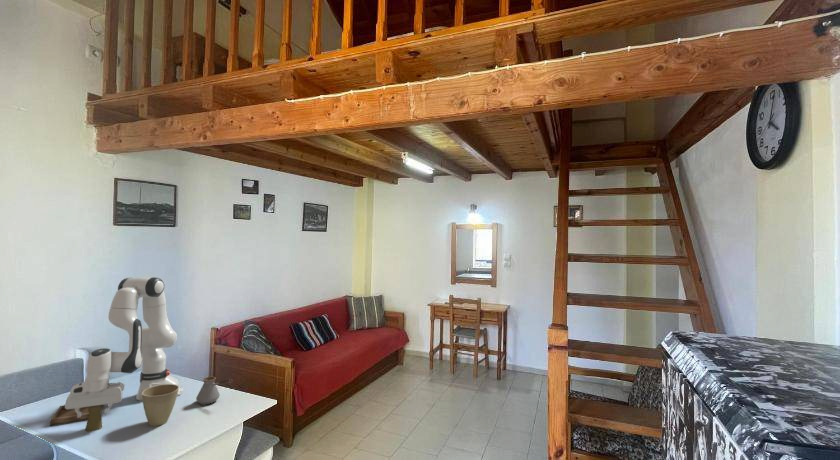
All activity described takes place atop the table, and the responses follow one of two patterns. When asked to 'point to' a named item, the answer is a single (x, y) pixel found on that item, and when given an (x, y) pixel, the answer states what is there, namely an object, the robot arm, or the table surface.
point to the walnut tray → (68, 416)
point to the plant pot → (159, 403)
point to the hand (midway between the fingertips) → (93, 414)
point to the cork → (94, 418)
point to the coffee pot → (209, 391)
